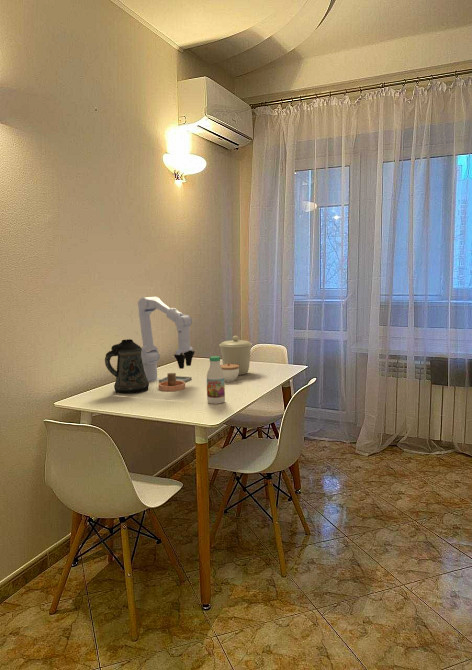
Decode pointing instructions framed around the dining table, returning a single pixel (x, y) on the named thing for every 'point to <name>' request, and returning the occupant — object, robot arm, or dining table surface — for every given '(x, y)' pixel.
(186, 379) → the slate tray
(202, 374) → the dining table surface
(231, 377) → the lidded jar
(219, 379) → the milk bottle
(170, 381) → the walnut peg
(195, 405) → the dining table surface
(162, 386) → the terracotta bowl
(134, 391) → the beer stein
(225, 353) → the canister
